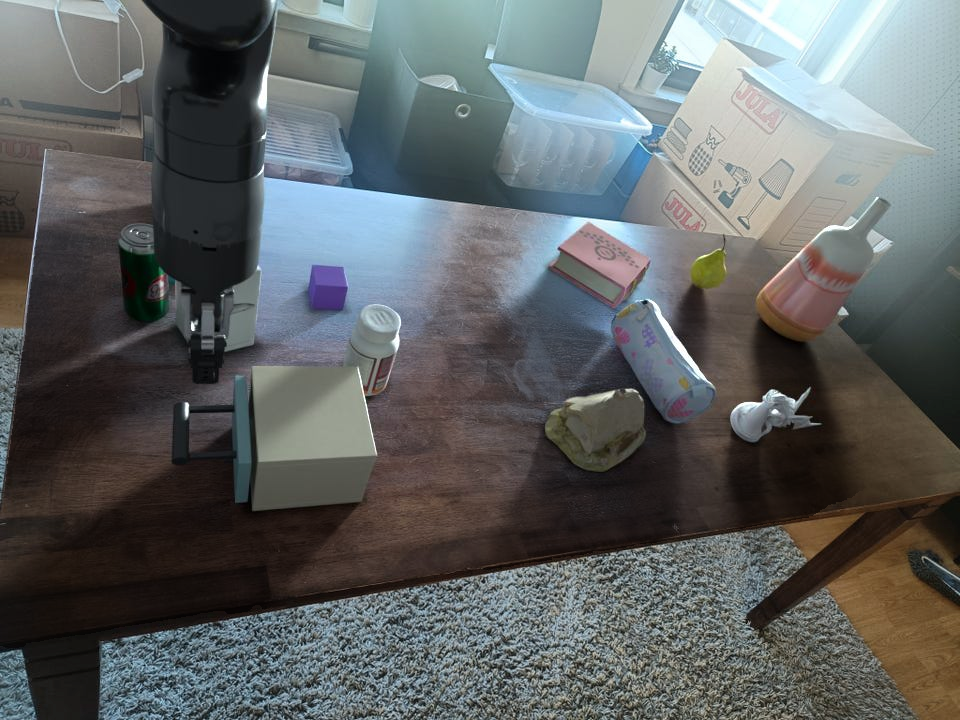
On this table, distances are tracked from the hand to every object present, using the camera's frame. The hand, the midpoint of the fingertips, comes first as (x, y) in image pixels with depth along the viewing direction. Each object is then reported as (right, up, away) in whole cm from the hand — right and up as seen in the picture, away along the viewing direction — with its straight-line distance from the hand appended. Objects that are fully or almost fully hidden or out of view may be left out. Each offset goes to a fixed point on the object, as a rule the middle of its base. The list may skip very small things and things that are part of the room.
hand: (205, 368), depth 58 cm
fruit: (+71, +16, +73) cm, 103 cm away
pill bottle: (+10, -2, +26) cm, 28 cm away
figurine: (+69, -12, +43) cm, 82 cm away
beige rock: (+41, -10, +31) cm, 53 cm away
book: (+48, +17, +63) cm, 81 cm away
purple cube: (+3, +10, +34) cm, 36 cm away
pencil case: (+52, -2, +45) cm, 69 cm away
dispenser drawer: (+1, -10, +11) cm, 15 cm away
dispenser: (+5, -10, +14) cm, 18 cm away
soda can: (-17, +7, +22) cm, 29 cm away
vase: (+87, +8, +72) cm, 114 cm away
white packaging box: (-9, +4, +23) cm, 25 cm away
